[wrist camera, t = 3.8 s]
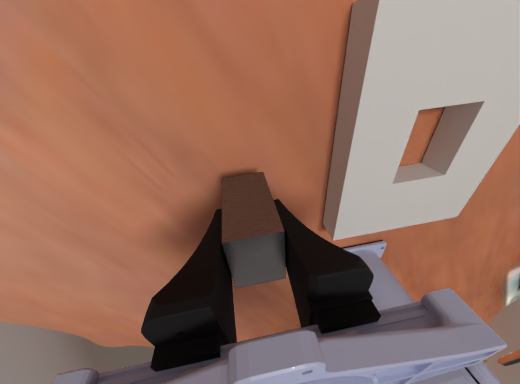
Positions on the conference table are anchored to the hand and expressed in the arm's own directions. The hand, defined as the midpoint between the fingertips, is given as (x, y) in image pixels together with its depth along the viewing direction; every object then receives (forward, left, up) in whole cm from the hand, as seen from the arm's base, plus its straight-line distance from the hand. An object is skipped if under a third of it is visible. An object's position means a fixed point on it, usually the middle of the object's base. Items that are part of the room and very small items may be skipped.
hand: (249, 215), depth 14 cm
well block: (+2, -15, -4) cm, 16 cm away
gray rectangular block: (0, 0, -2) cm, 2 cm away
